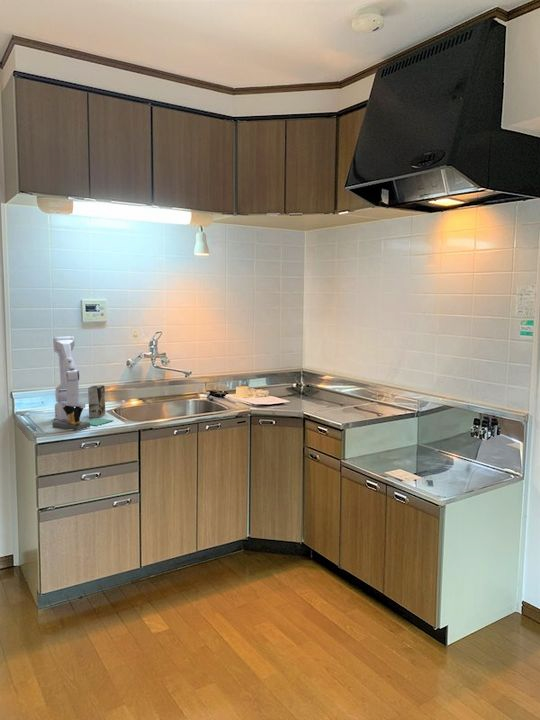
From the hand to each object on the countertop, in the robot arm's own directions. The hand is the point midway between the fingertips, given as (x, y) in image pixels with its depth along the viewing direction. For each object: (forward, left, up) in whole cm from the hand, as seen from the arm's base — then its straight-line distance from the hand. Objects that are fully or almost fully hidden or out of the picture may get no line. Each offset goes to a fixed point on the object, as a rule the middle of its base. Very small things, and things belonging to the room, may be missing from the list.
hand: (73, 420), depth 272 cm
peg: (0, 0, -3) cm, 3 cm away
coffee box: (-9, +25, -4) cm, 27 cm away
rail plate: (-2, 0, -3) cm, 4 cm away
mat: (+2, +13, -3) cm, 14 cm away
